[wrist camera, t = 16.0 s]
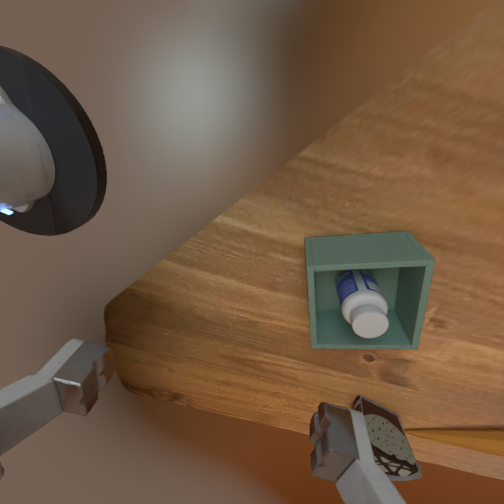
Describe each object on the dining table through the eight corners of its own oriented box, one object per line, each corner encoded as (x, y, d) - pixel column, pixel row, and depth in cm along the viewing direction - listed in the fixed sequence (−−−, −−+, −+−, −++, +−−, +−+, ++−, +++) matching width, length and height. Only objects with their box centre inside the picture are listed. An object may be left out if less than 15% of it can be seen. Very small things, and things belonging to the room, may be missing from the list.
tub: (308, 311, 44) (311, 348, 37) (304, 237, 38) (306, 265, 31) (397, 310, 41) (417, 349, 34) (408, 230, 35) (435, 259, 28)
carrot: (510, 424, 50) (526, 442, 46) (511, 445, 51) (527, 466, 47) (394, 413, 57) (398, 428, 53) (395, 432, 57) (400, 449, 53)
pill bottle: (336, 295, 41) (346, 344, 32) (332, 265, 38) (343, 310, 30) (373, 292, 39) (395, 342, 31) (372, 261, 37) (395, 306, 29)
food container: (333, 406, 54) (340, 462, 46) (353, 391, 52) (365, 449, 43) (381, 430, 56) (397, 489, 47) (403, 417, 53) (424, 478, 44)
